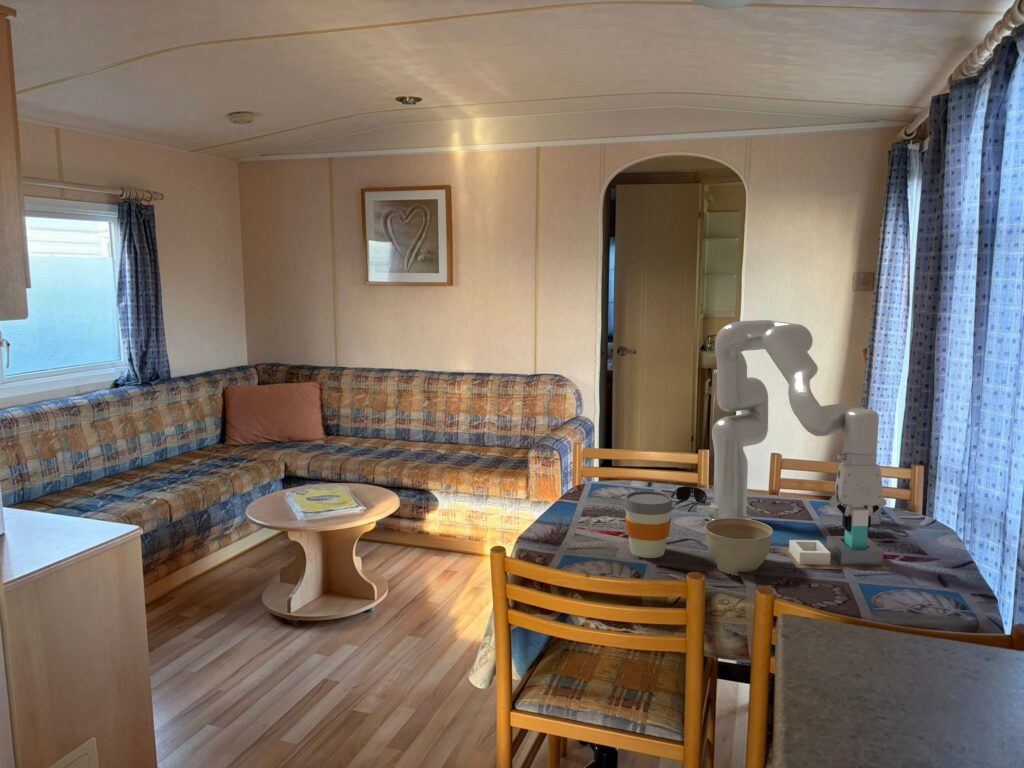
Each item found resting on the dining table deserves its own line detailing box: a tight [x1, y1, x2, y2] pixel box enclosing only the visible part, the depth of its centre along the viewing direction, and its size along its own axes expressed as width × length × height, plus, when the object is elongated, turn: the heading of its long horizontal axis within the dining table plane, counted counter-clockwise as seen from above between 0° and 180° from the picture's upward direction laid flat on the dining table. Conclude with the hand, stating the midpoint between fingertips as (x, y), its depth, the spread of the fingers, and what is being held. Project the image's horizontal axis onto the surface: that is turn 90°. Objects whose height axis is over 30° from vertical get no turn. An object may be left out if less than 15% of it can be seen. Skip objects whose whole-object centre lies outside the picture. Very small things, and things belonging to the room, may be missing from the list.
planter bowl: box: [704, 518, 774, 577], centre depth 184 cm, size 16×16×11 cm
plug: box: [844, 505, 869, 548], centre depth 186 cm, size 4×5×10 cm
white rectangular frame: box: [788, 539, 831, 565], centre depth 188 cm, size 7×9×3 cm
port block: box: [825, 535, 885, 567], centre depth 187 cm, size 10×10×4 cm
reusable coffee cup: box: [623, 490, 673, 559], centre depth 196 cm, size 13×13×15 cm
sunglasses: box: [669, 485, 708, 511], centre depth 236 cm, size 10×12×5 cm
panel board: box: [781, 546, 891, 571], centre depth 188 cm, size 22×14×2 cm, turn 85°
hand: (856, 529), depth 186 cm, fingers closed on plug, 3 cm apart
